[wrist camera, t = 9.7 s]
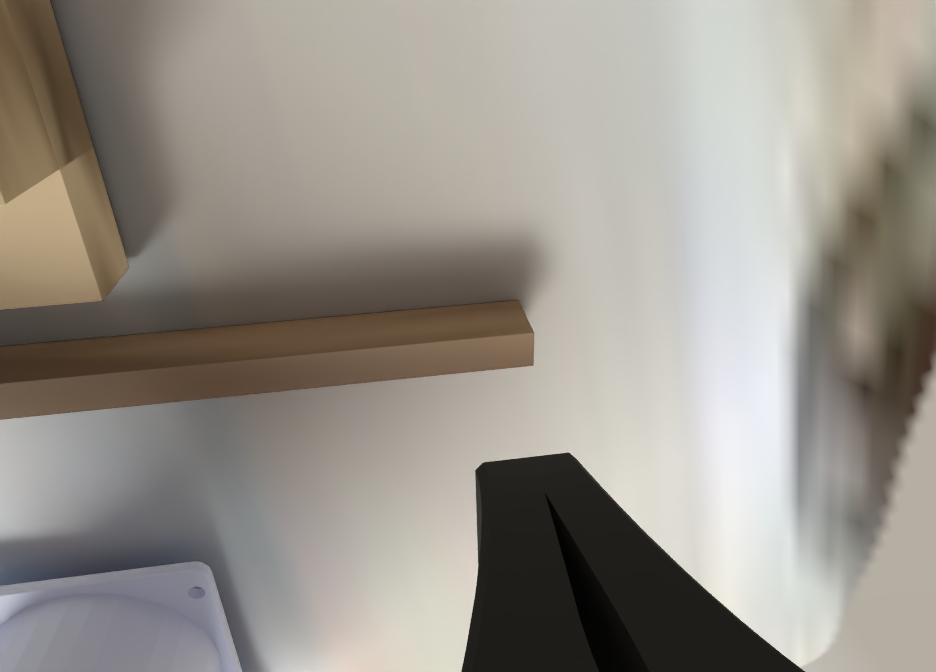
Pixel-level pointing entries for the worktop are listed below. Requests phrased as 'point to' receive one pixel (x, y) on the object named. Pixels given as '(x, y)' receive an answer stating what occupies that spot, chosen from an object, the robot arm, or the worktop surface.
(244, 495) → the worktop surface
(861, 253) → the worktop surface
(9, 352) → the wooden frame
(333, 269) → the worktop surface
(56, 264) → the beige wooden block
